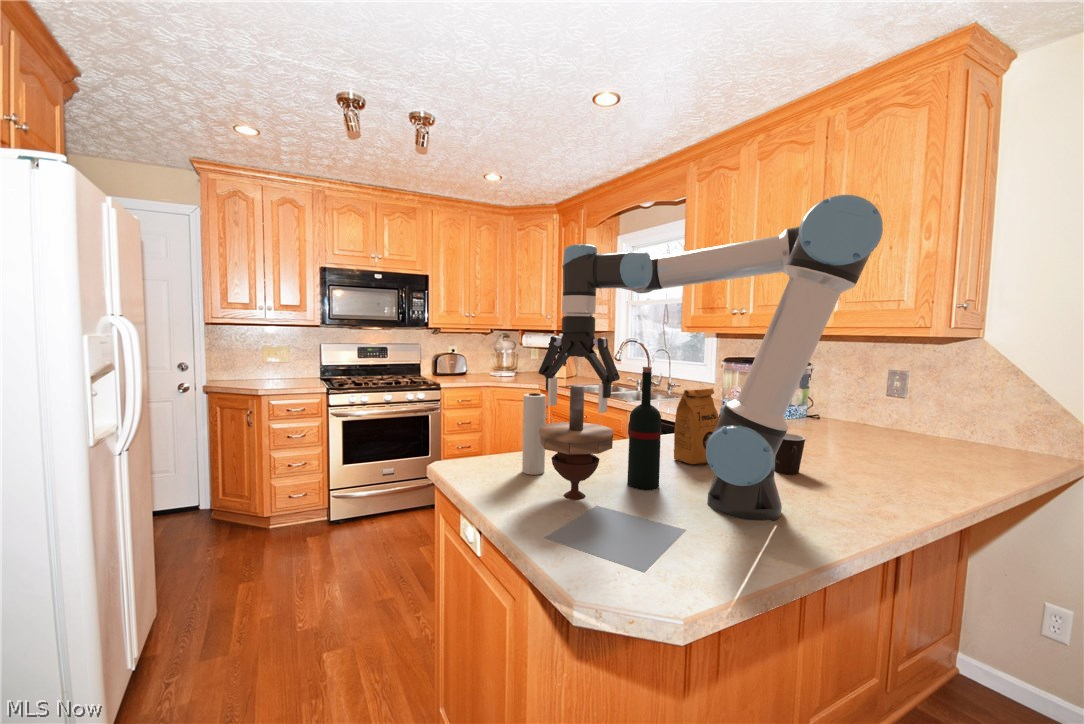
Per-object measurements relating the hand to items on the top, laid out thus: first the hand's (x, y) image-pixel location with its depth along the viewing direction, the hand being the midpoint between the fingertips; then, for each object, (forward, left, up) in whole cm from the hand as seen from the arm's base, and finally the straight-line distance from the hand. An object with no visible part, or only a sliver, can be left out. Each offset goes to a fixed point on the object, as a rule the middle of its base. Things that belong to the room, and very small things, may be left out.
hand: (576, 408), depth 108 cm
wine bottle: (-8, -19, -21) cm, 30 cm away
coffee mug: (-36, -53, -21) cm, 67 cm away
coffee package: (-13, -48, -21) cm, 54 cm away
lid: (0, 0, -8) cm, 8 cm away
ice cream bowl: (0, 0, -21) cm, 21 cm away
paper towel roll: (+19, -10, -21) cm, 30 cm away
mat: (-17, +12, -21) cm, 30 cm away
